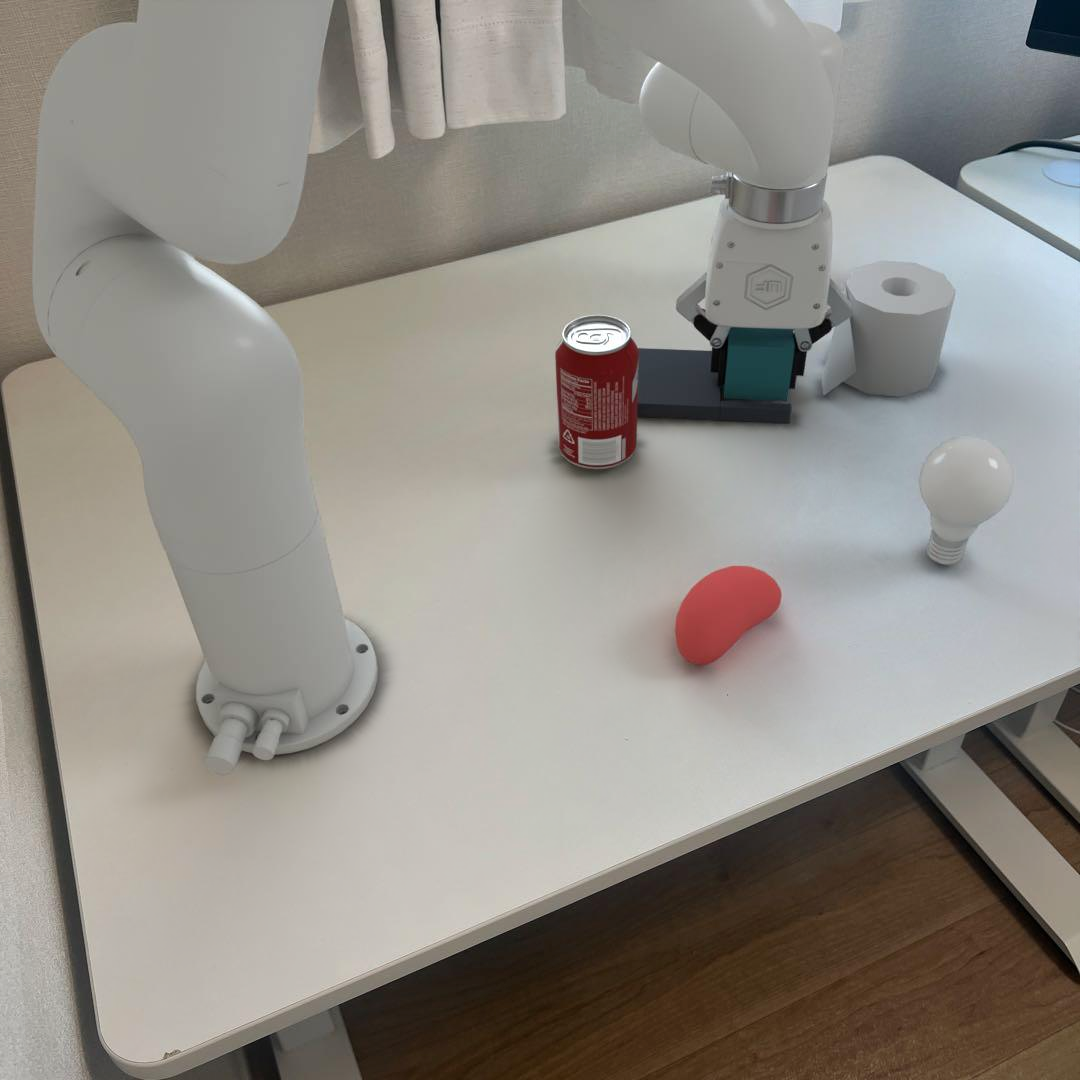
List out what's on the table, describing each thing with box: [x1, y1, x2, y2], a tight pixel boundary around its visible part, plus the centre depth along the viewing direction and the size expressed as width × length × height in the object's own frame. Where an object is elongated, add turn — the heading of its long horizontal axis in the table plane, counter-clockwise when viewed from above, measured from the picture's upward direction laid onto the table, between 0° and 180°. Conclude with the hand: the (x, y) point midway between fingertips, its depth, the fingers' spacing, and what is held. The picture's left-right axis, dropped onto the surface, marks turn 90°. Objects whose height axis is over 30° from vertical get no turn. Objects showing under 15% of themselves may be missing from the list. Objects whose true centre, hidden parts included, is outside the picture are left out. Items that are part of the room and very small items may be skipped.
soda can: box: [554, 314, 639, 470], centre depth 92 cm, size 7×7×12 cm
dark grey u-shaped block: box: [637, 347, 792, 424], centre depth 102 cm, size 9×18×2 cm, turn 83°
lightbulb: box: [918, 435, 1015, 566], centre depth 81 cm, size 6×6×11 cm
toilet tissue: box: [821, 260, 957, 398], centre depth 100 cm, size 9×13×9 cm
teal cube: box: [723, 327, 795, 402], centre depth 99 cm, size 6×6×6 cm
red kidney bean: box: [674, 565, 782, 666], centre depth 79 cm, size 5×9×6 cm, turn 122°
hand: (755, 377), depth 100 cm, fingers closed on teal cube, 5 cm apart
